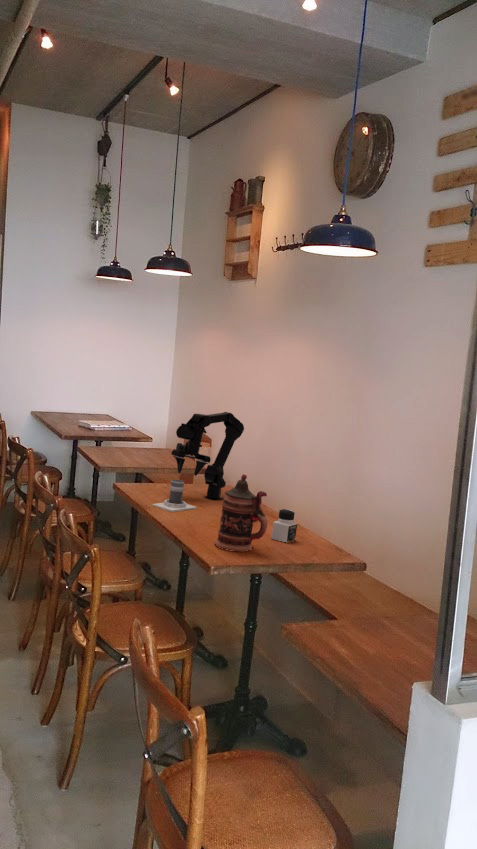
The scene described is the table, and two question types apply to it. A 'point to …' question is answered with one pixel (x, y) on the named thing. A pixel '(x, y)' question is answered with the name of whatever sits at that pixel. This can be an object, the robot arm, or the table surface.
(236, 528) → the beer stein
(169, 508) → the board
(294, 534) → the medicine bottle
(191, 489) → the table surface
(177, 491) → the grey round piece
